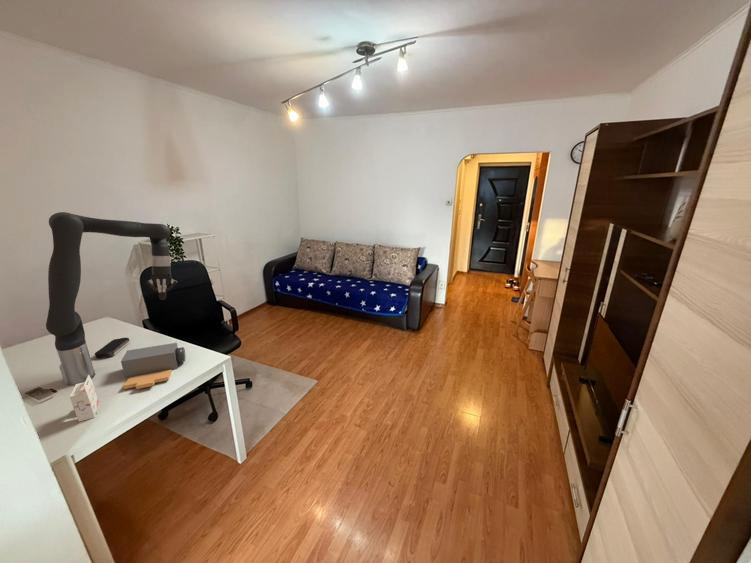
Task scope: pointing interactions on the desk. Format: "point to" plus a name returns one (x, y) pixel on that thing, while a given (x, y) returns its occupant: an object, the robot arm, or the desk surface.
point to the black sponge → (112, 347)
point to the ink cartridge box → (84, 400)
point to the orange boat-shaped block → (147, 379)
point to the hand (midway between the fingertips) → (162, 299)
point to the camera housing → (152, 359)
